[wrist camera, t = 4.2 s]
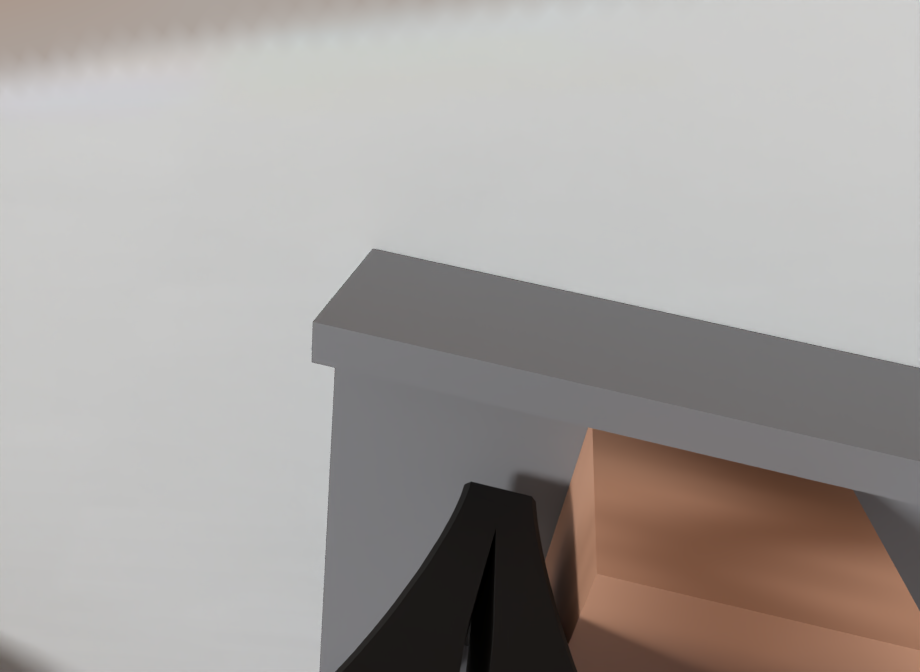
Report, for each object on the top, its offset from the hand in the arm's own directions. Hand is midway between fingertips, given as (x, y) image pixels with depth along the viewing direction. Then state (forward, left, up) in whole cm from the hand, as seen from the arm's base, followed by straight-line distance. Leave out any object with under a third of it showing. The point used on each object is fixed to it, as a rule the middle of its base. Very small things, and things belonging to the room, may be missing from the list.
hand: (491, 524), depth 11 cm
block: (-3, -1, -1) cm, 4 cm away
